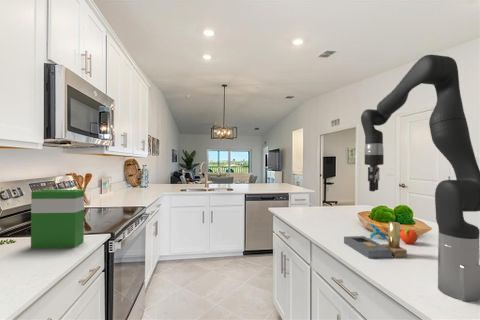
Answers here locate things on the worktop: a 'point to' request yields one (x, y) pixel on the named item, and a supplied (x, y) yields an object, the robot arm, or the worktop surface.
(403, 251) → the brown rectangular block
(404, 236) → the tomato
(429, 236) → the worktop surface
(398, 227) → the brass peg
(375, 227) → the gear
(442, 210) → the robot arm
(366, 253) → the flange plate
